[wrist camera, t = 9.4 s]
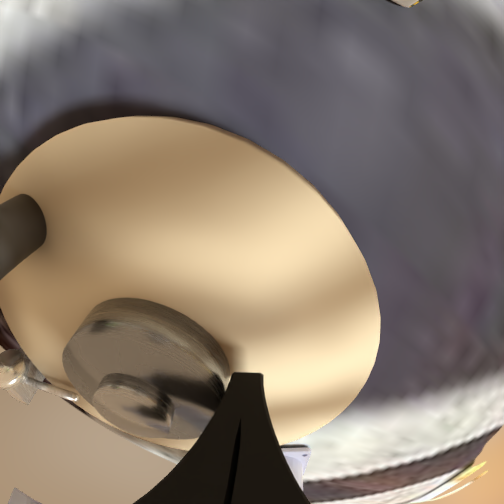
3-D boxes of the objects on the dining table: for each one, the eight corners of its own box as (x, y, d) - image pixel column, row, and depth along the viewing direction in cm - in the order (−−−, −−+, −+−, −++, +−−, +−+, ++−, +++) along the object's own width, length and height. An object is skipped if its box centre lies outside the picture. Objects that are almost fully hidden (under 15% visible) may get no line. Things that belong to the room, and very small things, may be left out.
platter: (412, 377, 14) (438, 457, 9) (162, 446, 20) (148, 500, 15) (199, 5, 7) (129, -75, 2) (-23, 269, 13) (-72, 315, 8)
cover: (261, 384, 12) (257, 446, 9) (157, 413, 14) (142, 459, 11) (149, 267, 10) (109, 328, 7) (62, 330, 12) (30, 375, 9)
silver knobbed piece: (104, 369, 17) (73, 432, 12) (36, 352, 18) (3, 400, 13) (90, 340, 16) (50, 406, 11) (21, 325, 16) (-17, 374, 11)
